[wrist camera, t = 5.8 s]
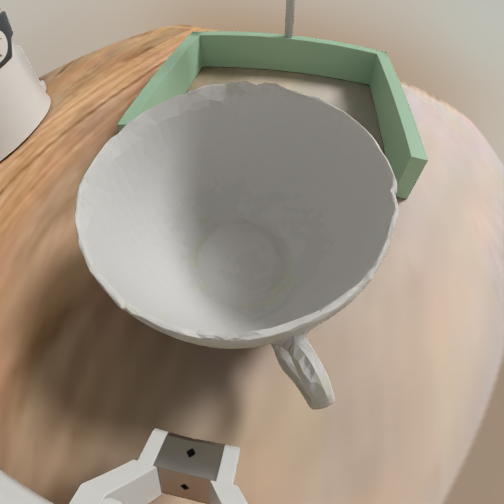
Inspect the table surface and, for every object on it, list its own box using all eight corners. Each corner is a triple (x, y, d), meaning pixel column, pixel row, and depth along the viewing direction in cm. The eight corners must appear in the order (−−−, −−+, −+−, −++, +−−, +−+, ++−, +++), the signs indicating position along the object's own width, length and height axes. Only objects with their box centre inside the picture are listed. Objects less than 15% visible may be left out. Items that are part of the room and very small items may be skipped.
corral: (131, 164, 22) (71, -36, 8) (195, 61, 31) (183, -65, 17) (406, 199, 21) (496, -7, 7) (378, 82, 29) (407, -46, 15)
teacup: (122, 212, 20) (77, 120, 13) (294, 164, 22) (307, 66, 15) (177, 449, 13) (111, 473, 6) (401, 363, 15) (493, 314, 8)
